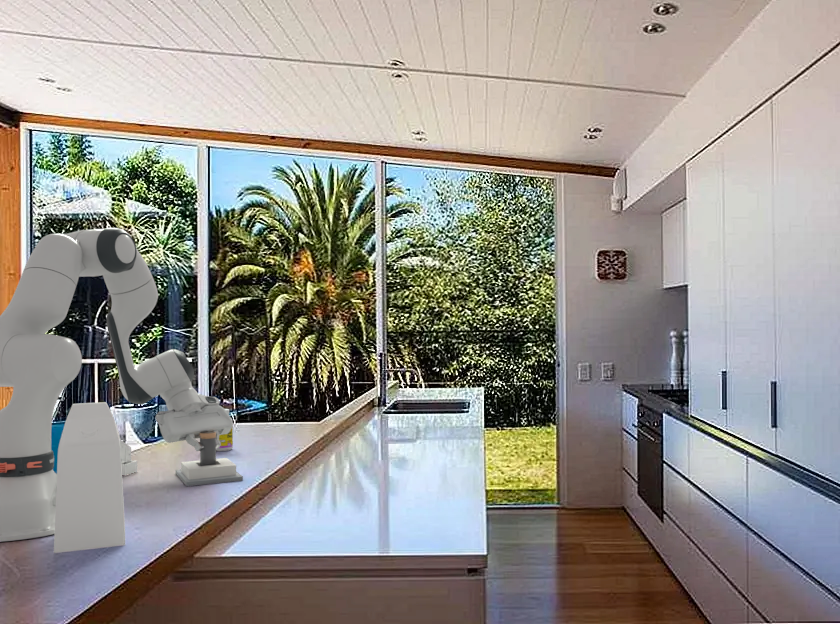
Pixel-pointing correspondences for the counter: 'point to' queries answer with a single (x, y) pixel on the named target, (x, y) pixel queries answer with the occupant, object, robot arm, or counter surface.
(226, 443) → the supplement bottle
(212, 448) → the battery
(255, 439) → the counter surface
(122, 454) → the white angled block
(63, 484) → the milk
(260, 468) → the counter surface
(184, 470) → the socket
